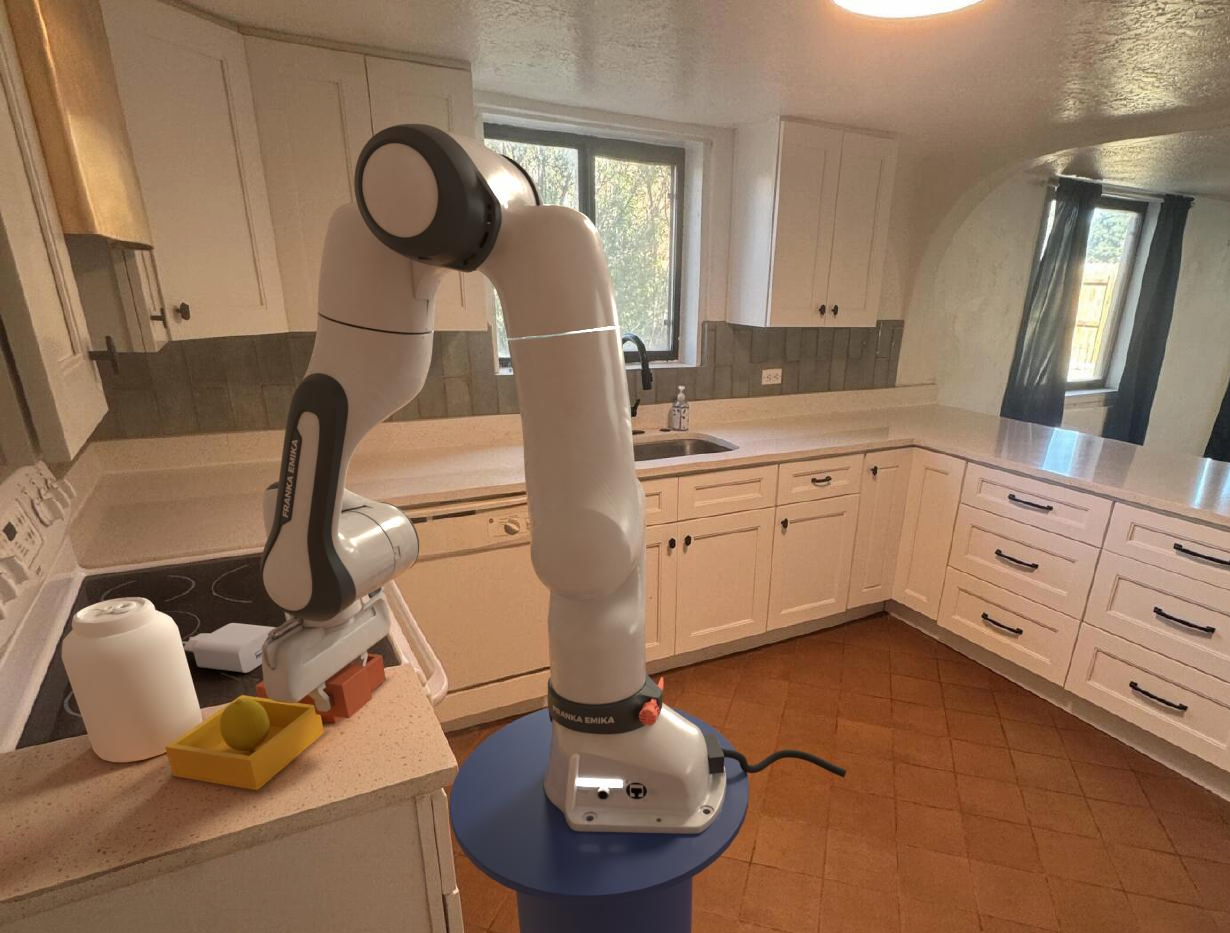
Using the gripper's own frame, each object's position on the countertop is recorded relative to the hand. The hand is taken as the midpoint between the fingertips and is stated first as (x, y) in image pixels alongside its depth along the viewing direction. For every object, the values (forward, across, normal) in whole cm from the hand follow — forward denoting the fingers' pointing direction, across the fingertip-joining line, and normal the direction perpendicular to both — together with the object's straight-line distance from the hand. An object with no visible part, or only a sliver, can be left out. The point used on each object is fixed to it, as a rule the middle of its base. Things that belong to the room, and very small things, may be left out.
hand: (342, 695), depth 92 cm
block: (+2, 0, 0) cm, 2 cm away
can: (+8, -5, +29) cm, 30 cm away
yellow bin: (+8, -4, +12) cm, 15 cm away
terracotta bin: (+8, +10, +12) cm, 18 cm away
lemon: (+8, -5, +12) cm, 15 cm away
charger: (+8, +17, +37) cm, 41 cm away
